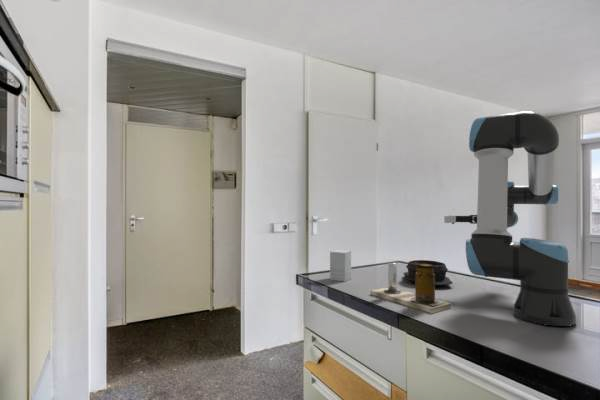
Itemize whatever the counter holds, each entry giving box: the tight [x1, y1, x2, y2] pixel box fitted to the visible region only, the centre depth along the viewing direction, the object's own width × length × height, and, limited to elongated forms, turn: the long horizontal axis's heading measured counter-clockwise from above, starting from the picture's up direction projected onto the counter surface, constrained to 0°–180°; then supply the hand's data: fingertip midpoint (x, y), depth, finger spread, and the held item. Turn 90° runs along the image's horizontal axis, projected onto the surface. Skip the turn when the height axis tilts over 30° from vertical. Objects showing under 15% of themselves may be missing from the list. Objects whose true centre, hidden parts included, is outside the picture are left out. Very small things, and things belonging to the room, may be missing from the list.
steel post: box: [387, 262, 398, 293], centre depth 125 cm, size 3×3×12 cm
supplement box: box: [329, 249, 352, 282], centre depth 152 cm, size 7×7×13 cm
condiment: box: [411, 264, 445, 306], centre depth 113 cm, size 7×8×12 cm
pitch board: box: [370, 286, 452, 314], centre depth 119 cm, size 26×10×2 cm, turn 34°
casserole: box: [402, 259, 454, 286], centre depth 148 cm, size 25×19×8 cm
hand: (462, 220), depth 126 cm, fingers open, 13 cm apart
